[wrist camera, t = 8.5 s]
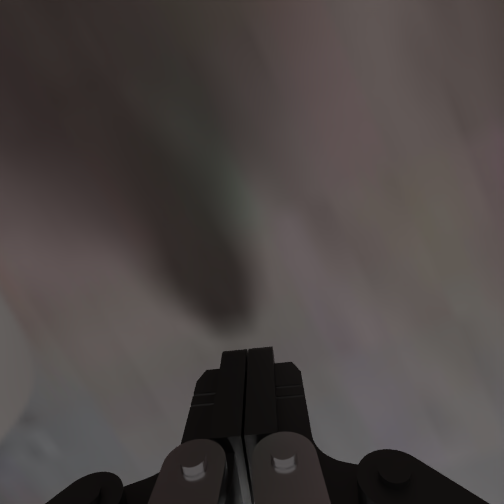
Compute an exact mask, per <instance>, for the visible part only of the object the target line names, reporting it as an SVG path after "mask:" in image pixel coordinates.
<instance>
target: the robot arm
mask: <svg viewBox="0 0 504 504" xmlns="http://www.w3.org/2000/svg"><path fill="white" fill-rule="evenodd" d="M254 503H255V504H489V503H487V502H486V501H484V500H483V499H481V498H479V497H478V496H476V495H475V494H473V493H471V492H470V491H468V490H466V489H465V488H463V487H462V486H460V485H458V484H457V483H455V482H454V481H452V480H450V479H449V478H447V477H445V476H444V475H442V474H441V473H439V472H437V471H436V470H434V469H433V468H431V467H429V466H428V465H426V464H424V463H423V462H421V461H420V460H418V459H416V458H415V457H413V456H411V455H409V454H407V453H404V452H401V451H397V450H391V449H383V450H377V451H373V452H371V453H369V454H367V455H366V456H365V457H364V458H363V459H362V460H361V461H360V463H359V464H358V465H357V464H351V463H346V462H342V461H338V460H335V459H333V458H331V457H329V456H327V455H326V454H324V453H323V452H322V451H321V450H320V449H319V448H318V447H317V446H316V445H315V443H314V441H313V438H312V434H311V428H310V422H309V416H308V411H307V405H306V399H305V393H304V388H303V382H302V376H301V371H300V370H299V369H298V368H297V367H296V366H295V365H294V364H293V363H292V362H285V363H275V362H274V354H273V347H263V348H253V349H249V350H248V351H247V349H244V350H234V351H224V352H223V353H222V358H221V364H220V369H213V370H206V371H205V372H204V374H203V375H202V376H201V377H200V378H199V380H198V381H197V383H196V387H195V391H194V396H193V399H192V402H191V407H190V410H189V414H188V418H187V422H186V426H185V430H184V434H183V438H182V442H181V445H179V446H178V447H176V448H175V449H174V450H172V451H171V452H170V453H169V454H168V456H167V457H166V459H165V460H164V462H163V465H162V467H161V470H160V472H159V473H157V474H155V475H154V476H151V477H149V478H147V479H144V480H141V481H138V482H136V483H133V484H130V485H127V486H124V487H123V484H122V481H121V479H120V478H119V477H118V476H117V475H115V474H113V473H110V472H97V473H93V474H89V475H87V476H84V477H82V478H80V479H78V480H77V481H75V482H74V483H72V484H71V485H69V486H68V487H67V488H65V489H64V490H63V491H61V492H60V493H59V494H57V495H56V496H55V497H54V498H52V499H51V500H50V501H48V502H47V503H46V504H254Z"/></svg>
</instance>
